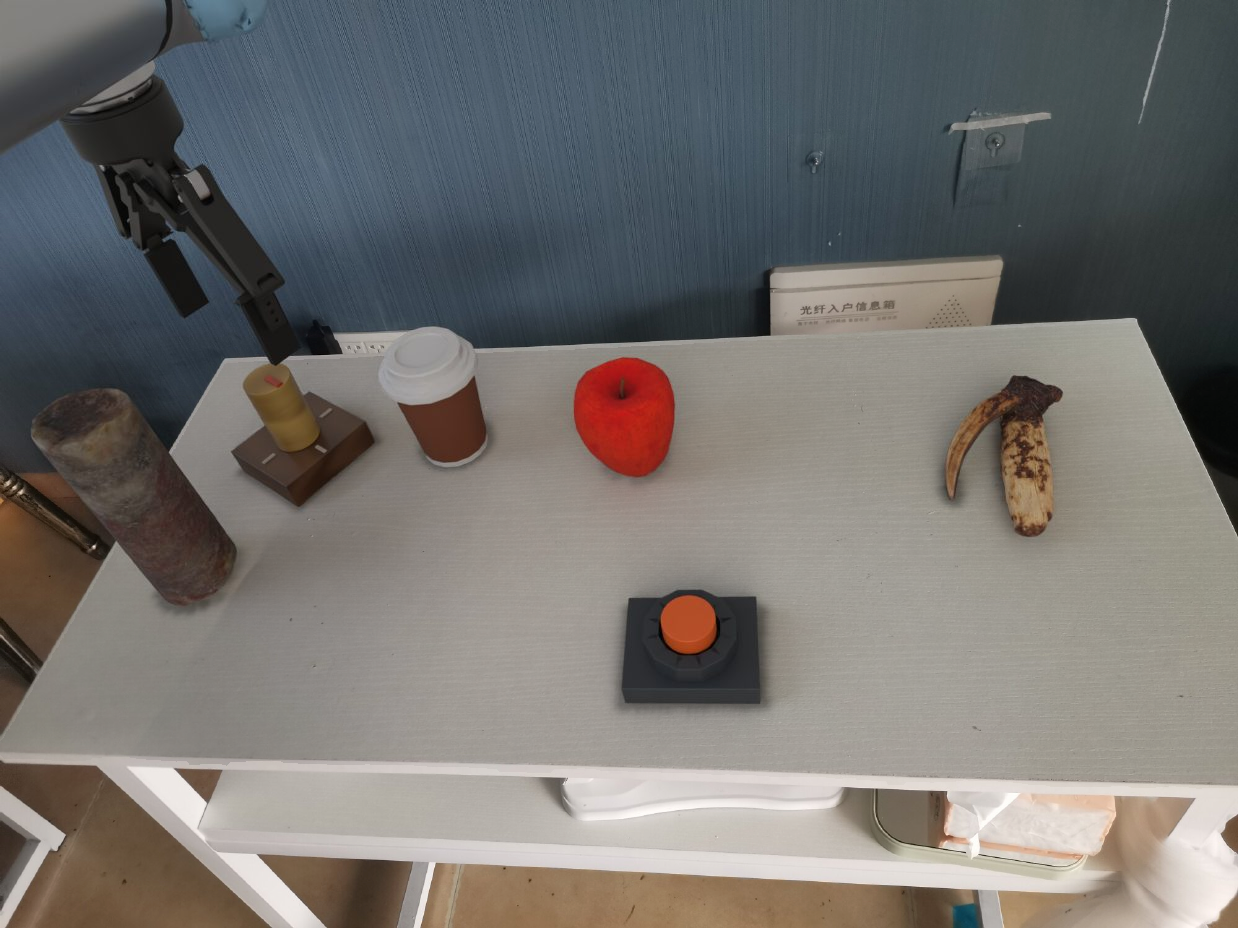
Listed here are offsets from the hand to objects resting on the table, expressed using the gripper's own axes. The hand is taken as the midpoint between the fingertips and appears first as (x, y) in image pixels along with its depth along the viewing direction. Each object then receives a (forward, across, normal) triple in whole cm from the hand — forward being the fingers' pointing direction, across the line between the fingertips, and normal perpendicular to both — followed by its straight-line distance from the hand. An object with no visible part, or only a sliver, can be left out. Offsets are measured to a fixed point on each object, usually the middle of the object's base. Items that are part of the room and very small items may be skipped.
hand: (238, 331), depth 77 cm
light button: (+13, -45, -2) cm, 47 cm away
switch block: (+16, -45, -2) cm, 48 cm away
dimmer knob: (+13, 0, 0) cm, 13 cm away
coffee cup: (+16, -12, -10) cm, 22 cm away
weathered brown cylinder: (+17, -3, +15) cm, 22 cm away
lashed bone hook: (+16, -57, -32) cm, 67 cm away
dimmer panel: (+16, 0, 0) cm, 16 cm away
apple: (+16, -29, -16) cm, 37 cm away
